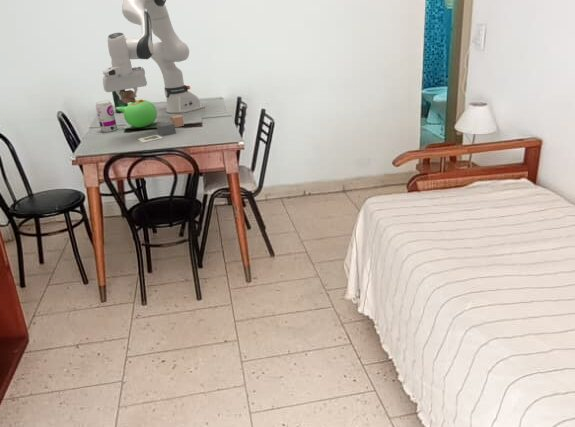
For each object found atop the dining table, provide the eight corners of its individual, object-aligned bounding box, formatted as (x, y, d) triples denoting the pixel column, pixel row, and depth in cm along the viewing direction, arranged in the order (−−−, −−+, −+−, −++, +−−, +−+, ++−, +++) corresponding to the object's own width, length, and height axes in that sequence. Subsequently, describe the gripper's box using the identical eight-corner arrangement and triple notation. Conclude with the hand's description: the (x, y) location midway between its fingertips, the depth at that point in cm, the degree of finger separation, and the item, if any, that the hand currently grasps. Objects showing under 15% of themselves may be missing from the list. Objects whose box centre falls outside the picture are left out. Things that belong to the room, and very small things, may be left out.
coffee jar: (129, 111, 316) (123, 80, 309) (116, 113, 314) (109, 82, 307) (128, 109, 325) (122, 78, 317) (115, 110, 323) (109, 80, 315)
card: (157, 135, 259) (157, 134, 259) (162, 138, 253) (162, 137, 253) (137, 139, 255) (137, 138, 255) (142, 142, 249) (142, 141, 248)
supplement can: (120, 128, 279) (114, 100, 273) (111, 132, 272) (104, 104, 266) (107, 128, 282) (101, 100, 275) (98, 132, 275) (91, 104, 268)
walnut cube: (132, 100, 257) (130, 90, 255) (135, 101, 253) (133, 91, 251) (122, 102, 255) (120, 91, 253) (125, 103, 251) (123, 93, 249)
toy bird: (145, 131, 269) (140, 102, 263) (118, 130, 275) (112, 102, 269) (164, 122, 284) (160, 95, 278) (138, 121, 290) (133, 95, 284)
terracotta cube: (180, 124, 278) (179, 114, 276) (184, 125, 274) (182, 116, 272) (171, 125, 276) (170, 116, 274) (175, 127, 272) (173, 118, 270)
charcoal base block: (171, 131, 266) (169, 121, 264) (176, 133, 261) (174, 123, 258) (158, 133, 263) (156, 124, 261) (162, 136, 257) (160, 126, 255)
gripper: (141, 65, 255) (147, 93, 260) (99, 71, 246) (105, 101, 251) (145, 66, 250) (151, 95, 255) (102, 73, 241) (109, 103, 246)
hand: (128, 98), depth 253 cm, fingers closed on walnut cube, 5 cm apart
